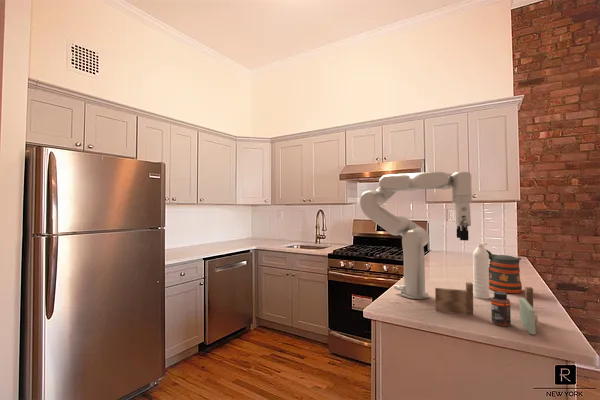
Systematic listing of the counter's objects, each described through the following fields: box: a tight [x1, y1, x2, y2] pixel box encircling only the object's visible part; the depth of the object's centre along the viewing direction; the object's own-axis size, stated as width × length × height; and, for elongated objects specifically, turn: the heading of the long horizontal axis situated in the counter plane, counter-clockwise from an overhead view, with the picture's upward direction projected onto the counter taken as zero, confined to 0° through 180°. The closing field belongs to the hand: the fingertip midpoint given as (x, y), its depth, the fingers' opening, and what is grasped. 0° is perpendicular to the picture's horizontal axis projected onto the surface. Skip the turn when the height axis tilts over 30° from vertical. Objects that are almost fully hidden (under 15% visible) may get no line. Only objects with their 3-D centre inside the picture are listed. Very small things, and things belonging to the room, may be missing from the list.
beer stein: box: [486, 249, 523, 295], centre depth 159 cm, size 19×15×20 cm
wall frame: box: [434, 282, 534, 316], centre depth 123 cm, size 34×3×12 cm, turn 71°
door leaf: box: [518, 297, 539, 335], centre depth 111 cm, size 15×3×8 cm, turn 155°
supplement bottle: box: [490, 291, 512, 327], centre depth 114 cm, size 6×6×11 cm
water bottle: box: [472, 242, 490, 300], centre depth 147 cm, size 9×6×25 cm
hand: (462, 239), depth 137 cm, fingers open, 9 cm apart
